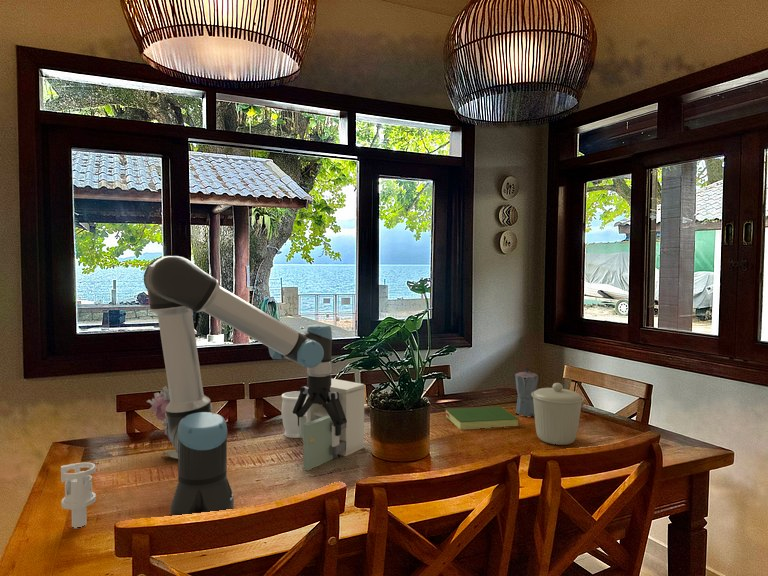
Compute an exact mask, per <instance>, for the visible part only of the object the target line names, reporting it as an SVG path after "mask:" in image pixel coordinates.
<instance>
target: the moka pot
mask: <svg viewBox="0 0 768 576" xmlns="http://www.w3.org/2000/svg"><path fill="white" fill-rule="evenodd" d="M514 377H515V387H516V388H515V389H516V392H517V400H516V407H515V413H517V414H519V415H523V416H534V402H533V397H532V395H531V393H532V392H534V391H536V390H538V389H537V387H538V381H539V375H538V374H537V373H536V372H530V369H529V368H528V367H527V368H524V371H521V372H520V371H519V372H517V373H514ZM534 417H535V416H534Z"/></svg>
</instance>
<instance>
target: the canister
mask: <svg viewBox="0 0 768 576" xmlns="http://www.w3.org/2000/svg"><path fill="white" fill-rule="evenodd" d="M531 395H532V397H533V402H534V415H535V416H534V424H535V431H536V434H537V438H539V440H540V441H542V442H544V443H547V444H551V445H555V444H556V445H557V446H558V445H559V446H560V445H561V446H566V445H570V444H572V443H574V442H575V441H576V439H577V435H578V429H579V423H580V417H581V410H582V403H583V402H584V400H585V398H584V397H583V396H582V395H581V394H580V393H578V392H576V391H574V390H571V389H566V388H564V387H563V384H562V383H560V382H554V383H553V384H552V387H541V388H538V389H536V391H534V392H532V393H531Z"/></svg>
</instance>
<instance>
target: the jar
mask: <svg viewBox="0 0 768 576" xmlns="http://www.w3.org/2000/svg"><path fill="white" fill-rule="evenodd" d="M299 395H300V390H298V391H297V390H296V391H295V390H294V391H287V392H284V393H282V394H281V398H282V401H281V402H282V403H281V419H282V426H283V428H284V430H285V431H284V434H283V435H284V436H285V437H286V438H289V439H299V426H298V417H297V415H296V414H293V409H294V407H295V404H296V402H297V400H298V397H299ZM306 400H307V397H306V399H305V402H306ZM305 402H304V404H305ZM304 404H303V405H304ZM305 414H306V415H304V416H307V412H306V413H305Z"/></svg>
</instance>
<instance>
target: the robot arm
mask: <svg viewBox="0 0 768 576" xmlns="http://www.w3.org/2000/svg"><path fill="white" fill-rule="evenodd" d="M143 283H144V286H145V289H146V290H147V295H148V296H147V297H148V301H149V302H148V303H149V308H150V311H152V312H153V313H155V314H156V315H157V320H158V326H159V331H160V332H159V333H160V340H161V341H160V342H161V347H162V354H163V360H164V365H165V366H164V367H165V373H166V379H167V380H166V381H167V386H168V387H167V388H168V390H169V394H170V403H169V404H168V405H167V406H166V408H165V409H166V413H165V416H166V418H167V426H165V429H166V431H167V435H166V436H167V438H168V440H169V442H170V443H171V444H172V445H173V447H174V450H176V451H177V453H178V459H177V470H178V471H177V477H178V478H177V480H178V482H177V485H176V488H175V492H174V494H173V498H172V501H171V504H170V515H182V514H192V513H201V512H210V511H219V510H226V509H232V510H233V509H234V506H235V505H234V504H235V502H234V501H235V500H234V499H235V498H234V493H233V490H232V488H231V485H230V482H229V480H228V476H227V473H228V470H227V464H228V463H227V462H228V461H227V460H228V459H227V458H228V457H227V456H228V448H227V446H228V442H227V441H228V440H227V439H228V428H227V422H226V420H225V418H224V417H223V416H222V415H220V414H218V413H214V412H213V408H212V409H211V405H212V404H211V398H209V396H207V395H205V394H204V387H203V381H202V375H201V368H200V361H199V354H198V353H199V352H198V347H197V339H196V333H195V326H194V324H195V323H194V320H193V312H195V313H200V312H204V313H206V314H208V315H209V316H211V317H213V318H214V319H217V321H220V322H222V323H224V324H225V325H227V326H229V327H232V329H235V330H236V331H238V332H240V333H242V334H244V335H246V336H248V337H249V338H252V339H253V340H255V341H257V342H259V343H260V344H262V345H264V346H266V347H268V353H269V356H270V358H272V359H273V360H284V359H287V360H290V361H292V362H294V363H296V364H298V365H299V366H302V367H304V368H306V374H307V375H306V377H307V378H306V380H307V381H306V384H307V385H305V386H301V387H300V390H299V391H300V395H299V397H298V400H297V402H296V404H295V407H294V409H293V414H296V415H297V417H298V426H299V438H300V439H303V437H304V424H305V423H307V416H304V415H306V414H305V413H306V412H307V411H308V409H309V408H310V407H311V405H312V404H313V403H314V404H319V405H322V406H323V407H324V408H325V409H326V411H327V413H328V414H329V416H330V418H331V420H332V421H333V423H334V425H332V447H335V446H337V445H339V435H341V425H342V424H345V423H347V420H346V417H345V414H344V411H343V408H342V406H341V403H340V400H339V393H338V392H331V391H330V387H331V378H332V374H331V373H332V348H333V347H332V345H333V344H332V343H333V342H332V341H333V335H332V334H333V333H332V327H331V325H328V324H324V323H320V324H319V323H318V324H317V323H315V324H309V325H308V326H307V329H306V331H303V332H298V331H297V330H296V329H293V328H292V327H290V326H289V325H287V324H285V323H283V322H282V321H280V320H279V319H277V318H275V317H273V316H272V315H271V314H268V313H267V312H265V311H263V310H262V309H260V308H258V307H256V306H255V305H253V304H251V303H249V302H248V301H246V300H245V299H243V298H241V297H239V296H238V295H236V294H234V293H232V292H231V291H229V290H228V289H226V288H224V287H222V286H221V285H220V283H219V280H218V279H216V278H215V277H214V276H211V275H210V274H209V273H208V272H205V271H204V270H203V269H201V268H200V267H199V266H198V265H196V264H195V263H194V262H192V261H191V260H189V259H188V258H186V257H184V256H179V255H164V256H160V257H156V258H155V259H154V260H151V262H150V263H149V264H148V265H147V266H146V269H145V270H144V273H143ZM192 311H193V312H192ZM329 362H331V363H329ZM308 387H309V388H308ZM307 394H309V397H308V399H307V400H306V402H305V399H306V397H307ZM304 402H305V404H304ZM326 402H328V403H326ZM303 404H304V405H303ZM299 438H298V439H299ZM233 505H234V506H233Z"/></svg>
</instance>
